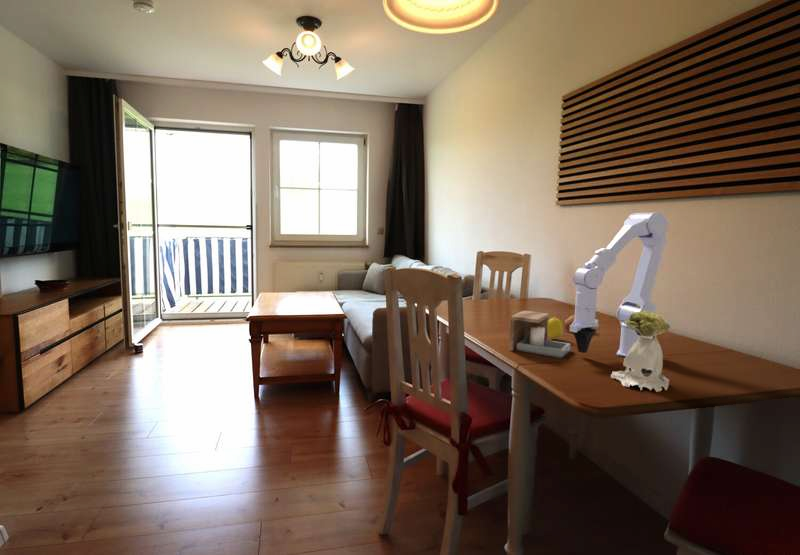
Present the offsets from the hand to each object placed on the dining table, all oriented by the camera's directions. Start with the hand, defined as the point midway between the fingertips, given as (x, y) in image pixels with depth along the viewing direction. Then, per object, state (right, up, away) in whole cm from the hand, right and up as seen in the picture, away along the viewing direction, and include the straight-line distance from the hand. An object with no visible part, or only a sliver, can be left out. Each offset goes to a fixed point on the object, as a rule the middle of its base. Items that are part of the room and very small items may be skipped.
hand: (582, 352), depth 136 cm
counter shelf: (-14, 0, +9) cm, 16 cm away
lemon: (-1, +1, +22) cm, 22 cm away
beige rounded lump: (-11, 0, +8) cm, 14 cm away
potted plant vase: (+6, -5, -21) cm, 23 cm away
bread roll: (+12, +2, +35) cm, 38 cm away
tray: (-10, -1, +7) cm, 12 cm away
